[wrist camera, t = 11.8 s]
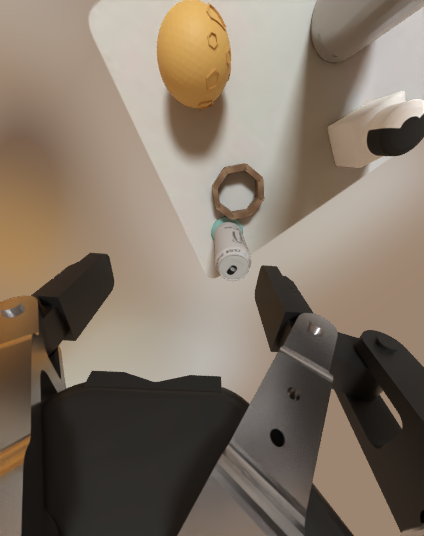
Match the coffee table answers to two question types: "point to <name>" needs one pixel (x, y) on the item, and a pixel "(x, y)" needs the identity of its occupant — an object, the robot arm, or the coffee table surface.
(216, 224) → the coaster
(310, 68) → the coffee table surface
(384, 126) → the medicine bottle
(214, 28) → the stress ball
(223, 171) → the collar
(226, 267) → the energy drink can
